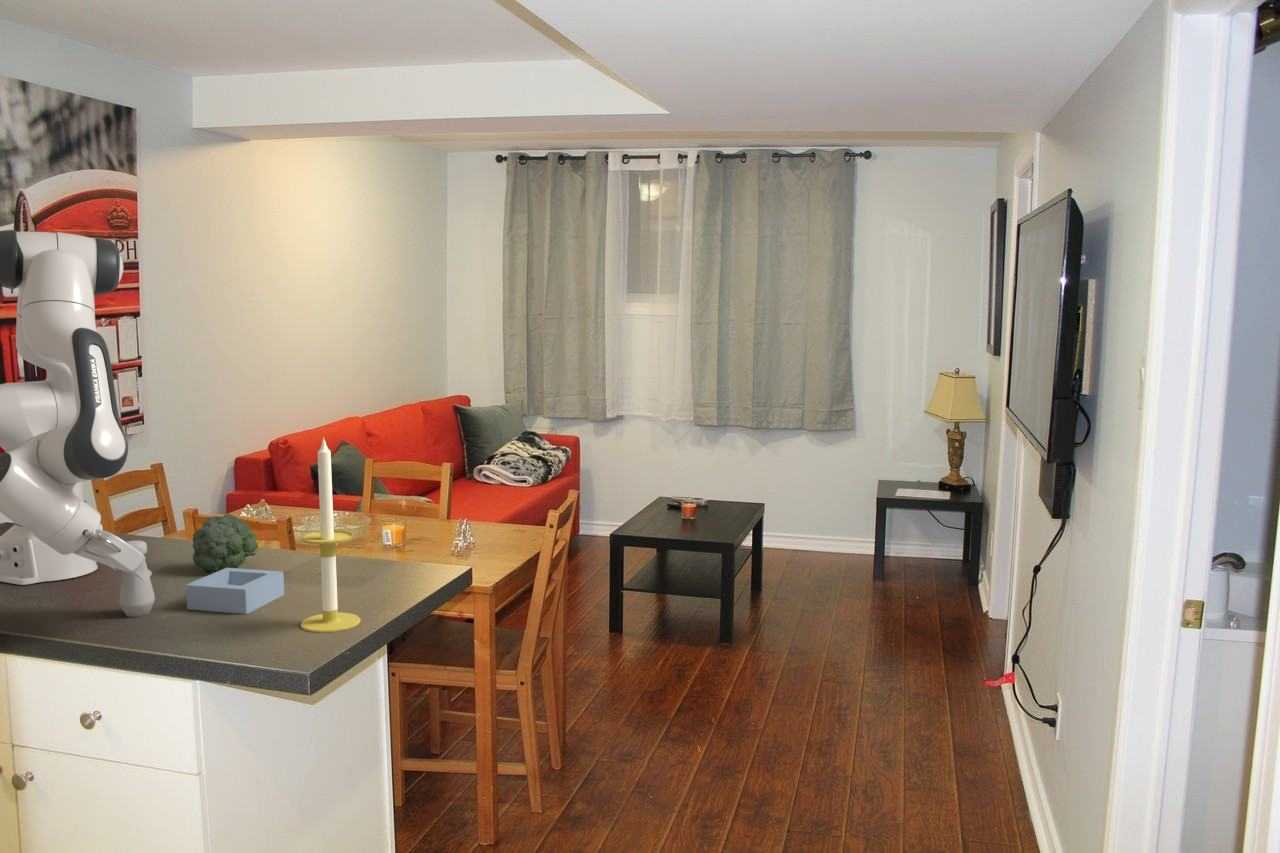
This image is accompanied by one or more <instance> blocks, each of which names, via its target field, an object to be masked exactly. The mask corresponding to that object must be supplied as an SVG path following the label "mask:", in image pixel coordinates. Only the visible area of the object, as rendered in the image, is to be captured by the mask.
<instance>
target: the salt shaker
mask: <svg viewBox="0 0 1280 853" xmlns="http://www.w3.org/2000/svg"><path fill="white" fill-rule="evenodd" d="M126 542H127V543H128V544H130V545H131V546H132V547H134V548H135V549H137V550H138V551H140V552H141V553H142V554H143V555H144V556H145V554H147V553H148V544H147V542H146V541H143V540H129V541H126ZM142 564H143V565H144V566H145V568H147V569H148V564H147V562H146V560H145V561H144V562H143V563H142ZM155 600H156V595H155V591H154V588H153V584H152V580H151V576H150V577H149V578H148V580H146V581H145V580H142V579H140V578H139V577H137V576H136V575H135V574H130V573H128V572H125V571H122V575H121V582H120V592H119V601H118V605H119V608H120V609H121V610H122V611H123V613H124V614H125V616H126V617H133V618H134V617H135V618H136V617H137V618H138V617H142V616H147V615H149V614H150V613H151V612H152V608H153V607H154V606H153V605H154V603H155Z"/></svg>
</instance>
